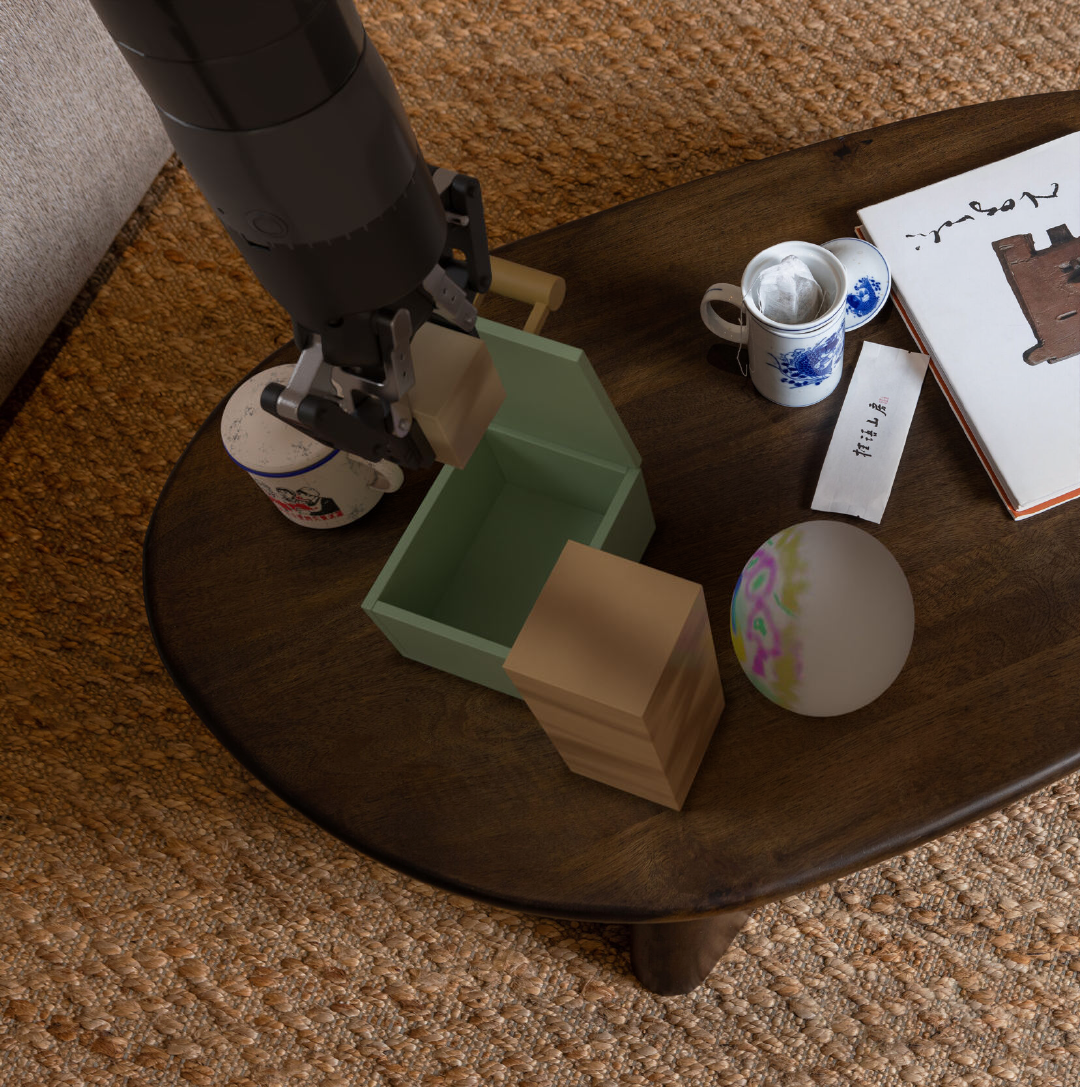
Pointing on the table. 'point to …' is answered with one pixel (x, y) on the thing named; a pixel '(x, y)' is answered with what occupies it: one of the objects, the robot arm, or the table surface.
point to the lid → (549, 372)
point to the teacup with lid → (301, 461)
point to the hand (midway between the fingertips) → (441, 414)
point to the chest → (500, 548)
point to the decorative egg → (822, 618)
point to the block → (453, 391)
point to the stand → (621, 673)
